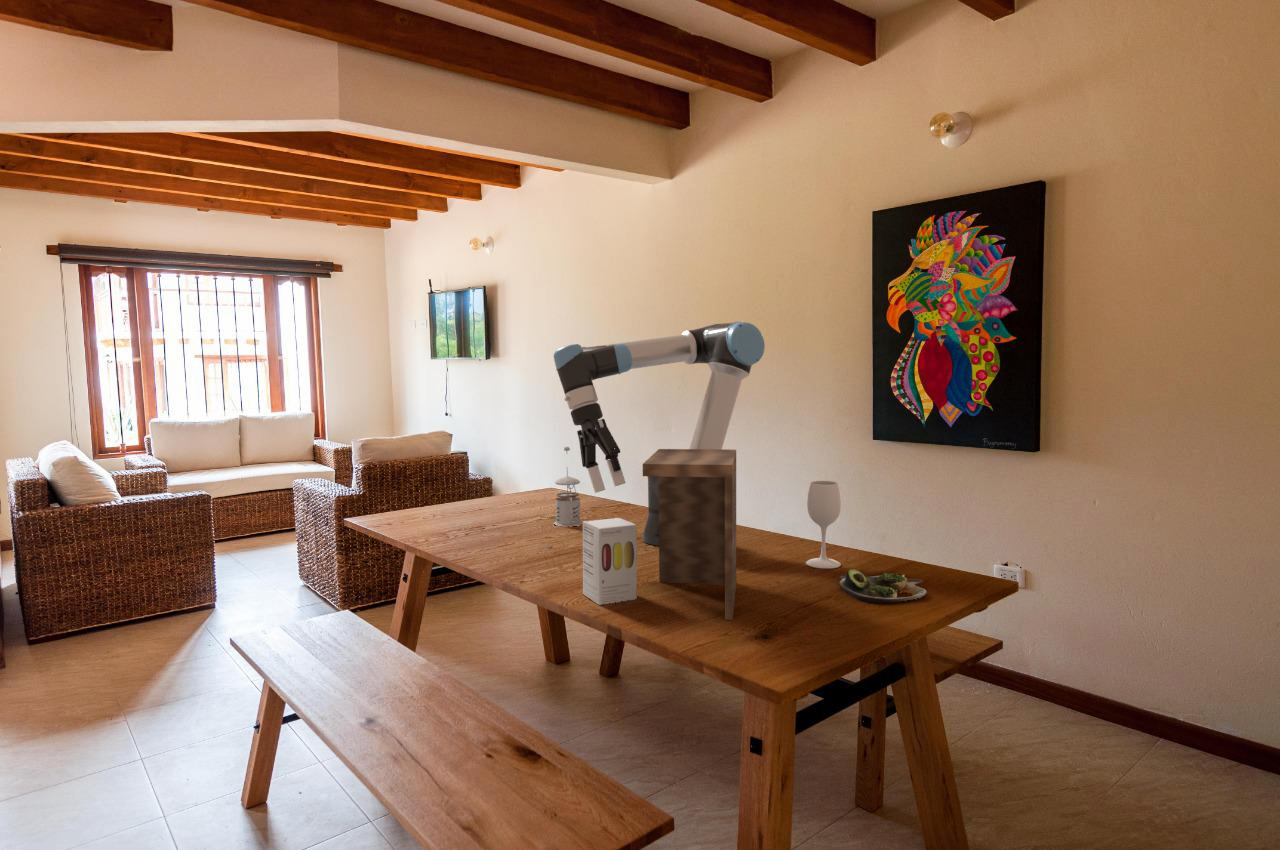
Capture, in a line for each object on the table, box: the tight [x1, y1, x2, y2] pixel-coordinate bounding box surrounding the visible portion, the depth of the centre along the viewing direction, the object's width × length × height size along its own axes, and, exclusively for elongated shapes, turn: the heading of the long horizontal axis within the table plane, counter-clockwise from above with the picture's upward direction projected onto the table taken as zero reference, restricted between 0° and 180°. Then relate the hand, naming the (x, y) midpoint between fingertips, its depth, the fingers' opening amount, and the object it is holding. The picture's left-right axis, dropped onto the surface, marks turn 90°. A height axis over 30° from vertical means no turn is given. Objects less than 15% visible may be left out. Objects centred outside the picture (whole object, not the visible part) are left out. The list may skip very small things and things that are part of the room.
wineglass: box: [805, 480, 842, 570], centre depth 197 cm, size 9×9×21 cm
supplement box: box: [582, 517, 638, 606], centre depth 172 cm, size 10×9×17 cm
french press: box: [553, 446, 583, 527], centre depth 249 cm, size 10×12×25 cm
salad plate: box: [839, 568, 928, 604], centre depth 175 cm, size 19×18×5 cm
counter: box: [642, 448, 737, 621], centre depth 169 cm, size 18×26×32 cm
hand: (609, 488), depth 191 cm, fingers open, 13 cm apart
